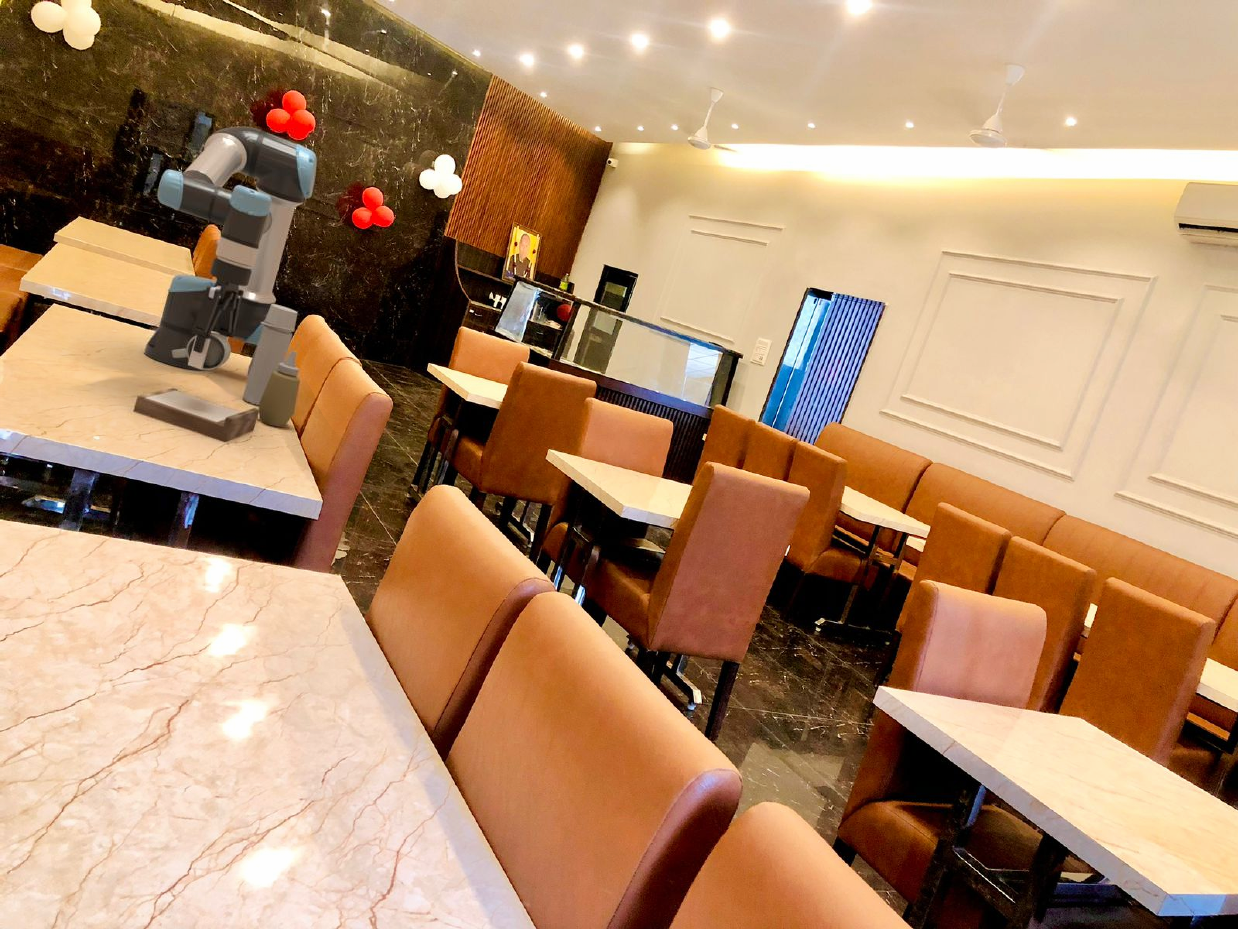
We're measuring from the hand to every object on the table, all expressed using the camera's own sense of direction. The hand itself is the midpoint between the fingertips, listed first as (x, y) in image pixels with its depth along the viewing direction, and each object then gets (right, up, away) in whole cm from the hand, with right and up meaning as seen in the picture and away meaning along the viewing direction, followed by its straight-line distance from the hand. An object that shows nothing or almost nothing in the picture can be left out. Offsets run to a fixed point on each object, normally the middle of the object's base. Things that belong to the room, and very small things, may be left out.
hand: (204, 365), depth 186 cm
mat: (-3, -9, +2) cm, 9 cm away
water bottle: (-5, -5, +37) cm, 37 cm away
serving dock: (-3, -12, +2) cm, 12 cm away
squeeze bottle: (+5, -11, +23) cm, 26 cm away
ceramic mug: (-1, 0, -1) cm, 1 cm away
